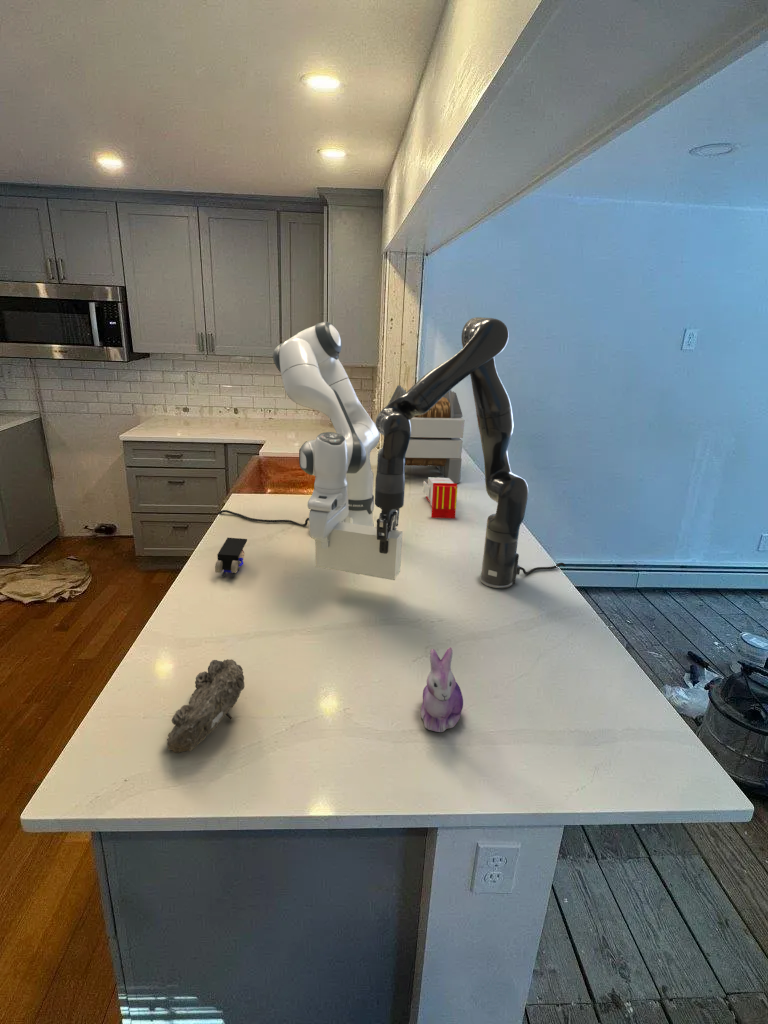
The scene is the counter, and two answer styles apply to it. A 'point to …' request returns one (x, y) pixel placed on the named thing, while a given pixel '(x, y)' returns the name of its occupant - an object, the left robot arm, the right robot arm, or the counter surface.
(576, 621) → the counter surface
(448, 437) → the transformer
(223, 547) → the black toy rover
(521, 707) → the counter surface
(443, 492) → the toy
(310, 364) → the left robot arm
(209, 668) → the fossil
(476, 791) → the counter surface
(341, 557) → the box
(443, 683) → the figurine
